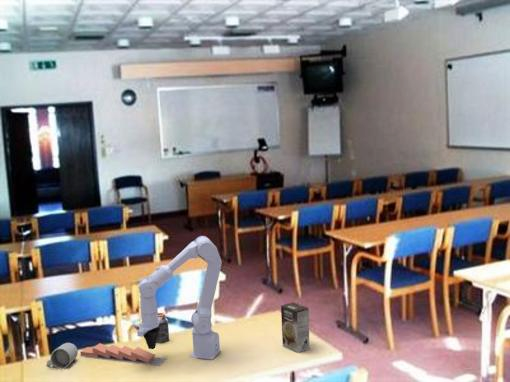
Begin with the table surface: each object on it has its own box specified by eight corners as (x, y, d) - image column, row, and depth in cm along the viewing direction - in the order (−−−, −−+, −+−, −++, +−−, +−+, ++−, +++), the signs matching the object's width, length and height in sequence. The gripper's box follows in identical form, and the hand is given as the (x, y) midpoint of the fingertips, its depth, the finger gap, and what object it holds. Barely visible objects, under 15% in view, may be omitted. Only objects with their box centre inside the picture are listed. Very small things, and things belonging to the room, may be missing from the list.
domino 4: (142, 353, 216) (125, 345, 218) (135, 358, 212) (118, 350, 214) (141, 357, 216) (124, 349, 218) (135, 361, 212) (117, 354, 214)
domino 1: (103, 348, 222) (87, 347, 224) (97, 353, 218) (80, 351, 220) (104, 352, 222) (87, 351, 224) (97, 357, 218) (80, 355, 220)
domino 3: (129, 351, 218) (112, 344, 220) (122, 356, 214) (105, 349, 216) (128, 355, 218) (111, 348, 220) (122, 360, 214) (105, 353, 216)
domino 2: (116, 350, 220) (99, 343, 222) (109, 355, 216) (93, 347, 218) (115, 354, 220) (99, 346, 222) (108, 358, 216) (92, 351, 218)
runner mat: (168, 359, 214) (167, 358, 214) (159, 366, 208) (159, 365, 208) (94, 351, 225) (94, 350, 225) (84, 358, 219) (84, 357, 219)
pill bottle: (171, 338, 234) (169, 311, 233) (167, 344, 228) (165, 316, 227) (156, 338, 235) (154, 311, 233) (152, 344, 229) (150, 316, 228)
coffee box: (281, 346, 220) (280, 305, 218) (294, 341, 224) (293, 301, 222) (297, 353, 213) (295, 311, 211) (310, 348, 217) (309, 307, 215)
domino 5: (155, 354, 214) (137, 347, 216) (148, 359, 210) (131, 351, 212) (154, 358, 214) (137, 350, 217) (148, 363, 210) (130, 355, 213)
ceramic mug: (80, 359, 218) (77, 339, 217) (71, 368, 210) (69, 348, 209) (52, 360, 219) (50, 340, 218) (43, 369, 211) (40, 349, 210)
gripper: (149, 305, 218) (152, 339, 220) (128, 318, 204) (131, 355, 206) (166, 306, 215) (168, 341, 217) (146, 319, 202) (149, 357, 204)
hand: (151, 348), depth 211 cm, fingers closed
